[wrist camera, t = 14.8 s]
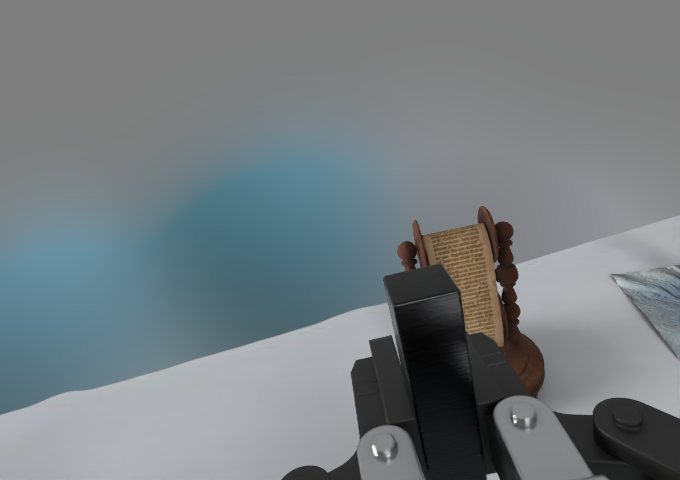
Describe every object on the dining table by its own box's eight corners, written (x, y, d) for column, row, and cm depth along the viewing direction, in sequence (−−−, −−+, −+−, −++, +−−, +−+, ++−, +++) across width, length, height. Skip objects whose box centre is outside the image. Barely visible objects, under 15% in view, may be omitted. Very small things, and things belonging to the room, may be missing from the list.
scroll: (419, 441, 46) (382, 262, 38) (400, 351, 59) (370, 206, 52) (571, 415, 44) (563, 226, 37) (516, 329, 58) (502, 178, 51)
